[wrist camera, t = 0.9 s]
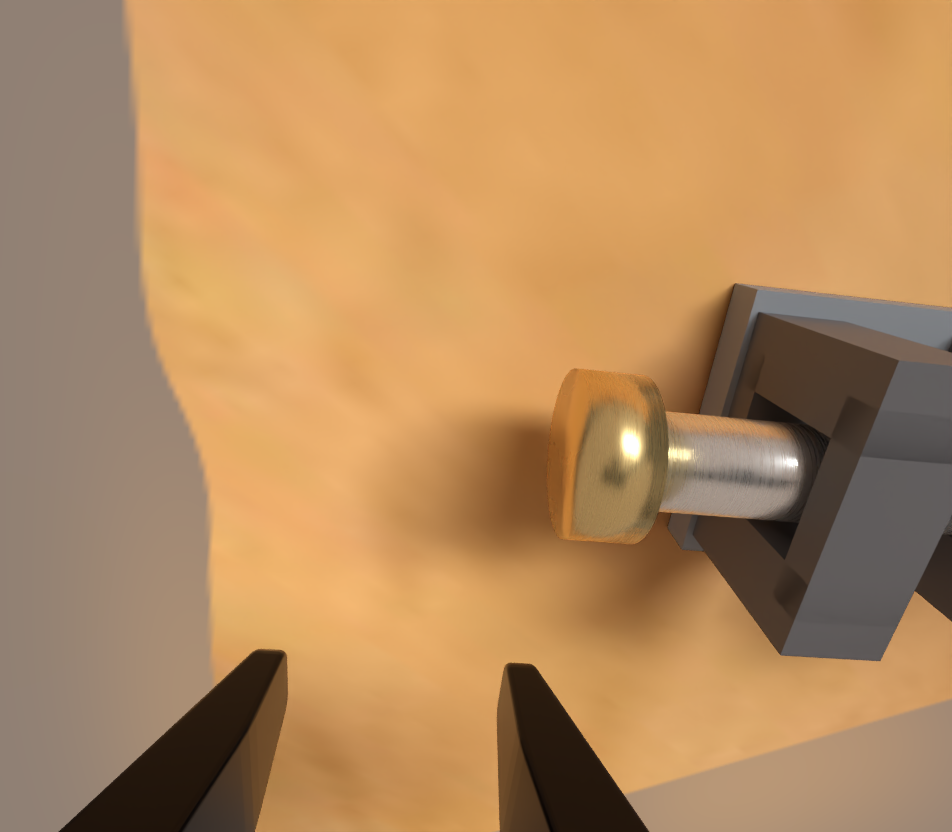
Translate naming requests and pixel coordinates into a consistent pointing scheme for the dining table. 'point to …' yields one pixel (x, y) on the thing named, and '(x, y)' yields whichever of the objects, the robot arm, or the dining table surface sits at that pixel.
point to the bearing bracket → (838, 466)
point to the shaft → (667, 461)
